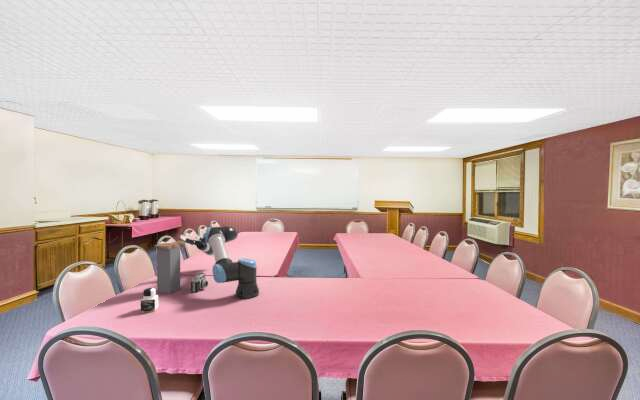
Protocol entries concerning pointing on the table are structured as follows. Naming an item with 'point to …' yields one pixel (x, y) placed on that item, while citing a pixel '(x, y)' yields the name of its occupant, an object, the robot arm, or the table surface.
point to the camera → (198, 282)
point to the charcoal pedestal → (168, 270)
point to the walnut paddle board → (168, 245)
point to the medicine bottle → (149, 300)
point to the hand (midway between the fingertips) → (188, 236)
